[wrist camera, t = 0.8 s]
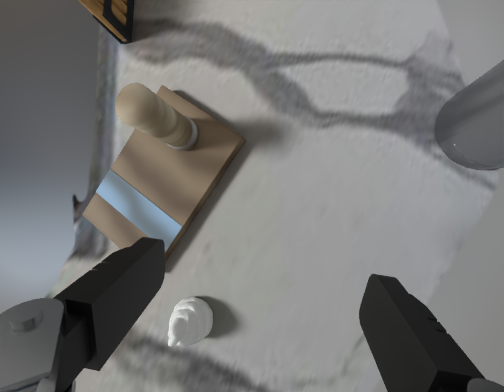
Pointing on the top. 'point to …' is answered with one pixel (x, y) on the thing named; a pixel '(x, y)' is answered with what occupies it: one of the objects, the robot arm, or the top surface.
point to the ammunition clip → (113, 16)
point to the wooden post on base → (155, 117)
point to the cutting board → (162, 181)
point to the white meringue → (190, 322)
